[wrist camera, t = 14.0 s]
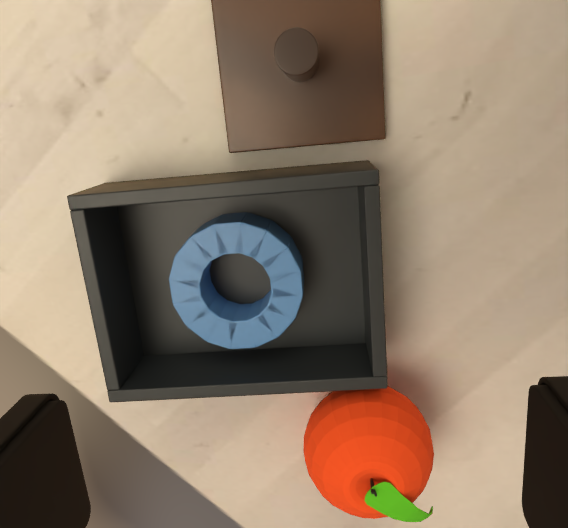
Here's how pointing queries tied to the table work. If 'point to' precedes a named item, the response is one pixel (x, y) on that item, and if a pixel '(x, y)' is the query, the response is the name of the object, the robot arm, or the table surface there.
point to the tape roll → (229, 315)
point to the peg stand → (300, 72)
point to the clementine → (370, 453)
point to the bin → (236, 282)
